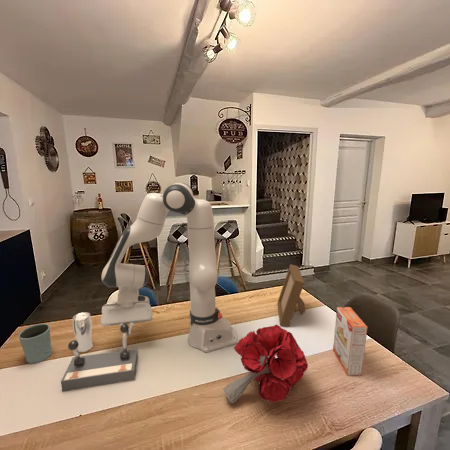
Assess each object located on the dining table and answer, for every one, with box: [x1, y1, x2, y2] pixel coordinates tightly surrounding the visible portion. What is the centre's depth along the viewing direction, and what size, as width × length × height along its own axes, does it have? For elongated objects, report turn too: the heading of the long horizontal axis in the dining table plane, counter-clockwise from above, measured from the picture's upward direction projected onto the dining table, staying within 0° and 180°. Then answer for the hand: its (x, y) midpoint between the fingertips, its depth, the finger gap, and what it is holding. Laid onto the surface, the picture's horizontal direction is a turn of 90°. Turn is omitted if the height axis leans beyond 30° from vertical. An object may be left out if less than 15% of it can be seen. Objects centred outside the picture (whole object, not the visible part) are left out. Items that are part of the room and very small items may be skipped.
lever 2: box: [119, 324, 130, 359], centre depth 100 cm, size 3×3×13 cm
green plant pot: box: [18, 323, 53, 365], centre depth 105 cm, size 10×10×12 cm
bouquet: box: [222, 324, 309, 404], centre depth 88 cm, size 22×24×30 cm
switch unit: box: [60, 348, 139, 392], centre depth 97 cm, size 24×12×4 cm, turn 103°
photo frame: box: [277, 263, 306, 328], centre depth 134 cm, size 15×22×25 cm
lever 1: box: [67, 339, 85, 366], centre depth 93 cm, size 3×3×13 cm
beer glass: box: [72, 311, 94, 353], centre depth 110 cm, size 7×7×15 cm
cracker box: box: [332, 306, 369, 376], centre depth 101 cm, size 14×6×21 cm, turn 178°
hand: (126, 334), depth 105 cm, fingers closed
